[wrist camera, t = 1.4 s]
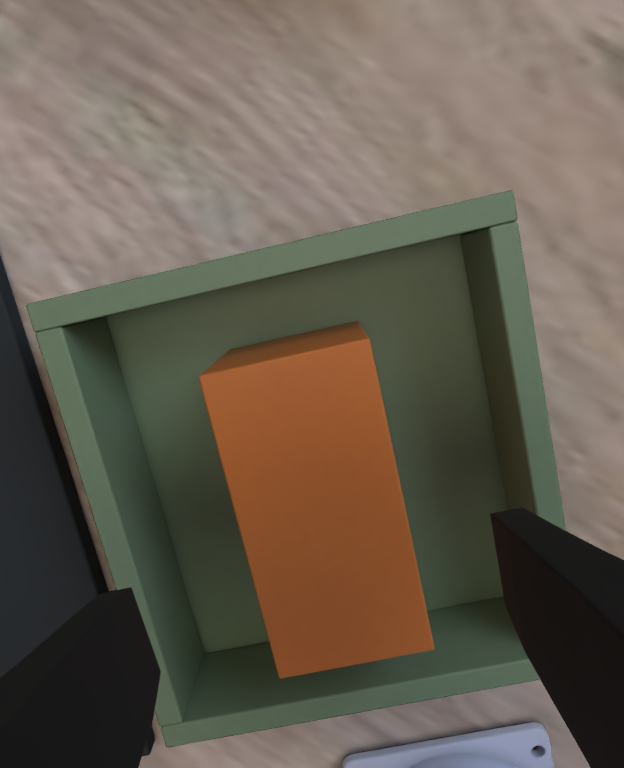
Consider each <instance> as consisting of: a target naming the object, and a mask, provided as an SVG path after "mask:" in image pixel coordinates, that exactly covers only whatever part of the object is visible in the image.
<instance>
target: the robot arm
mask: <svg viewBox="0 0 624 768" xmlns="http://www.w3.org/2000/svg"><path fill="white" fill-rule="evenodd" d="M490 517H491V523H492V529H493V535H494V541H495V547H496V553H497V559H498V565H499V571H500V577H501V583H502V590H503V596H504V602H505V606H506V608H507V611H508V613H509V615H510V618H511V620H512V623H513V625H514V628H515V630H516V632H517V635H518V637H519V639H520V642H521V644H522V646H523V649H524V651H525V653H526V655H527V656H528V658H529V660H530V662H531V664H532V665H533V667H534V669H535V671H536V672H537V674H538V676H539V678H540V680H541V681H542V683H543V685H544V687H545V688H546V690H547V692H548V694H549V695H550V697H551V699H552V701H553V702H554V704H555V706H556V708H557V709H558V711H559V713H560V714H561V716H562V718H563V720H564V721H565V723H566V725H567V727H568V728H569V730H570V732H571V734H572V735H573V737H574V739H575V741H576V742H577V744H578V746H579V748H580V749H581V751H582V753H583V755H584V756H585V758H586V760H587V762H588V763H589V765H590V767H591V768H624V560H622V559H620V558H618V557H616V556H614V555H611V554H609V553H607V552H605V551H603V550H601V549H599V548H597V547H595V546H593V545H591V544H589V543H587V542H585V541H584V540H582V539H580V538H578V537H576V536H574V535H572V534H570V533H568V532H567V531H565V530H563V529H561V528H559V527H558V526H556V525H554V524H552V523H550V522H548V521H547V520H545V519H543V518H541V517H539V516H538V515H536V514H534V513H532V512H530V511H528V510H526V509H524V508H522V507H520V508H515V509H510V510H505V511H501V512H496V513H491V514H490ZM160 675H161V670H160V668H159V665H158V662H157V659H156V656H155V653H154V650H153V648H152V645H151V642H150V639H149V636H148V633H147V630H146V628H145V625H144V622H143V619H142V616H141V613H140V610H139V608H138V605H137V602H136V599H135V596H134V593H133V590H132V588H131V587H129V588H124V589H120V590H115V591H110V592H105V593H102V594H100V595H99V596H97V597H96V598H94V599H93V600H92V601H90V602H89V603H88V604H87V605H85V606H84V607H83V608H82V609H80V610H79V611H78V612H77V613H76V614H74V615H73V616H72V617H71V618H70V619H69V620H67V621H66V622H65V623H64V624H63V625H62V626H61V627H59V628H58V629H57V630H56V631H55V632H54V633H52V634H51V635H50V636H49V637H48V638H47V639H46V640H44V641H43V642H42V643H41V644H40V645H39V646H37V647H36V648H35V649H34V650H33V651H32V652H31V653H29V654H28V655H27V656H26V657H25V658H24V659H22V660H21V661H20V662H19V663H18V664H17V665H15V666H14V667H13V668H12V669H10V670H9V671H8V672H7V673H6V674H4V675H3V676H2V677H1V678H0V768H138V767H139V763H140V760H141V757H142V754H143V751H144V747H145V744H146V741H147V738H148V734H149V731H150V728H151V724H152V720H153V715H154V710H155V705H156V699H157V693H158V687H159V681H160ZM535 746H540V747H539V748H537V749H533V747H535ZM342 768H554V764H553V758H552V752H551V747H550V741H549V736H548V734H547V732H546V730H545V728H544V726H542V725H541V724H539V723H537V722H530V723H525V724H519V725H513V726H508V727H502V728H497V729H491V730H485V731H480V732H474V733H468V734H463V735H457V736H452V737H446V738H440V739H435V740H429V741H423V742H418V743H412V744H407V745H401V746H395V747H390V748H384V749H378V750H373V751H367V752H362V753H356V754H351V755H348V756H347V757H346V758H345V759H344V760H343V762H342Z"/></svg>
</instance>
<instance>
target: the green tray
mask: <svg viewBox="0 0 624 768" xmlns="http://www.w3.org/2000/svg"><path fill="white" fill-rule="evenodd" d="M516 220H517V212H516V206H515V199H514V193H513V191H512V190H510V191H505V192H501V193H497V194H493V195H488V196H484V197H480V198H476V199H471V200H467V201H463V202H459V203H454V204H450V205H446V206H442V207H437V208H433V209H429V210H425V211H420V212H416V213H412V214H408V215H403V216H399V217H395V218H391V219H386V220H382V221H378V222H374V223H369V224H365V225H361V226H357V227H352V228H348V229H344V230H340V231H335V232H331V233H327V234H323V235H318V236H314V237H310V238H306V239H302V240H297V241H293V242H289V243H285V244H280V245H276V246H272V247H268V248H263V249H259V250H255V251H251V252H246V253H242V254H238V255H234V256H229V257H225V258H221V259H217V260H212V261H208V262H204V263H200V264H195V265H191V266H187V267H183V268H178V269H174V270H170V271H166V272H161V273H157V274H153V275H149V276H144V277H140V278H136V279H132V280H127V281H123V282H119V283H115V284H110V285H106V286H102V287H98V288H94V289H89V290H85V291H81V292H77V293H72V294H68V295H64V296H60V297H55V298H51V299H47V300H43V301H38V302H34V303H30V304H27V305H26V307H27V310H28V313H29V316H30V319H31V323H32V326H33V329H34V331H35V332H37V333H36V337H37V340H38V344H39V347H40V350H41V353H42V356H43V359H44V363H45V366H46V369H47V372H48V375H49V378H50V381H51V385H52V388H53V391H54V394H55V397H56V400H57V404H58V407H59V410H60V413H61V416H62V419H63V423H64V426H65V429H66V432H67V435H68V438H69V441H70V445H71V448H72V451H73V454H74V457H75V460H76V464H77V467H78V470H79V473H80V476H81V479H82V483H83V486H84V489H85V492H86V495H87V498H88V502H89V505H90V508H91V511H92V514H93V517H94V520H95V524H96V527H97V530H98V533H99V536H100V539H101V543H102V546H103V549H104V552H105V555H106V558H107V562H108V565H109V568H110V571H111V574H112V577H113V581H114V584H115V587H116V590H120V589H124V588H129V587H131V588H132V590H133V593H134V596H135V599H136V602H137V605H138V608H139V610H140V613H141V616H142V619H143V622H144V625H145V628H146V630H147V633H148V636H149V639H150V642H151V645H152V648H153V650H154V653H155V656H156V659H157V662H158V665H159V668H160V670H161V675H160V681H159V687H158V693H157V699H156V705H155V713H156V716H157V720H158V723H159V725H160V726H161V732H162V735H163V738H164V741H165V744H166V746H167V747H172V746H178V745H183V744H189V743H194V742H200V741H205V740H211V739H216V738H222V737H227V736H233V735H238V734H244V733H249V732H255V731H260V730H266V729H271V728H277V727H282V726H288V725H293V724H299V723H304V722H310V721H315V720H321V719H326V718H332V717H337V716H343V715H348V714H353V713H359V712H364V711H370V710H375V709H381V708H386V707H392V706H397V705H403V704H408V703H414V702H419V701H425V700H430V699H436V698H441V697H447V696H452V695H458V694H463V693H469V692H474V691H480V690H485V689H491V688H496V687H502V686H507V685H513V684H518V683H524V682H529V681H535V680H540V678H539V676H538V674H537V672H536V671H535V669H534V667H533V665H532V664H531V662H530V660H529V658H528V656H527V655H526V653H525V651H524V649H523V646H522V644H521V642H520V639H519V637H518V635H517V632H516V630H515V628H514V625H513V623H512V620H511V618H510V615H509V613H508V611H507V608H506V606H505V602H504V596H503V590H502V583H501V577H500V571H499V565H498V559H497V553H496V547H495V541H494V535H493V529H492V523H491V517H490V514H491V513H496V512H501V511H505V510H510V509H515V508H520V507H522V508H524V509H526V510H528V511H530V512H532V513H534V514H536V515H538V516H539V517H541V518H543V519H545V520H547V521H548V522H550V523H552V524H554V525H556V526H558V527H559V528H561V529H563V530H565V531H566V528H565V521H564V515H563V509H562V502H561V496H560V490H559V483H558V477H557V470H556V464H555V458H554V451H553V445H552V439H551V432H550V426H549V419H548V413H547V407H546V400H545V394H544V388H543V381H542V375H541V368H540V362H539V356H538V349H537V343H536V337H535V330H534V324H533V317H532V311H531V305H530V298H529V292H528V285H527V279H526V273H525V266H524V260H523V254H522V247H521V241H520V234H519V228H518V224H517V222H515V221H516ZM354 321H358V322H359V323H360V325H361V326H362V328H363V330H364V331H365V333H366V334H367V336H368V337H369V339H370V342H371V347H372V351H373V356H374V361H375V366H376V370H377V375H378V380H379V385H380V389H381V394H382V399H383V404H384V409H385V413H386V418H387V423H388V428H389V432H390V437H391V442H392V447H393V451H394V456H395V461H396V466H397V470H398V475H399V480H400V485H401V490H402V494H403V499H404V504H405V509H406V513H407V518H408V523H409V528H410V532H411V537H412V542H413V547H414V551H415V556H416V561H417V566H418V570H419V575H420V580H421V585H422V590H423V594H424V599H425V604H426V609H427V613H428V618H429V623H430V628H431V632H432V637H433V642H434V650H431V651H426V652H420V653H415V654H410V655H404V656H399V657H394V658H388V659H383V660H378V661H372V662H367V663H362V664H356V665H351V666H346V667H340V668H335V669H330V670H324V671H319V672H314V673H308V674H303V675H298V676H292V677H287V678H282V679H281V678H279V676H278V672H277V668H276V665H275V661H274V657H273V654H272V650H271V646H270V642H269V639H268V635H267V631H266V627H265V624H264V620H263V616H262V613H261V609H260V605H259V601H258V598H257V594H256V590H255V586H254V583H253V579H252V575H251V571H250V568H249V564H248V560H247V557H246V553H245V549H244V545H243V542H242V538H241V534H240V530H239V527H238V523H237V519H236V516H235V512H234V508H233V504H232V501H231V497H230V493H229V489H228V486H227V482H226V478H225V475H224V471H223V467H222V463H221V460H220V456H219V452H218V448H217V445H216V441H215V437H214V434H213V430H212V426H211V422H210V419H209V415H208V411H207V407H206V404H205V400H204V396H203V392H202V389H201V385H200V381H199V376H200V375H201V374H202V373H203V372H204V371H206V370H207V369H208V368H209V367H210V366H211V365H213V364H214V363H215V362H216V361H217V360H218V359H220V358H221V357H222V356H223V355H224V354H225V353H227V352H228V351H229V350H230V349H234V348H239V347H243V346H248V345H252V344H257V343H261V342H265V341H270V340H274V339H279V338H283V337H288V336H292V335H296V334H301V333H305V332H310V331H314V330H319V329H323V328H328V327H332V326H336V325H341V324H345V323H350V322H354Z"/></svg>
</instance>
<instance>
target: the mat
mask: <svg viewBox="0 0 624 768" xmlns="http://www.w3.org/2000/svg"><path fill="white" fill-rule="evenodd" d="M105 592H108V591H107V588H106V585H105V582H104V579H103V575H102V572H101V569H100V566H99V563H98V560H97V557H96V554H95V550H94V547H93V544H92V541H91V538H90V535H89V532H88V528H87V525H86V522H85V519H84V516H83V513H82V510H81V507H80V503H79V500H78V497H77V494H76V491H75V488H74V485H73V482H72V478H71V475H70V472H69V469H68V466H67V463H66V460H65V457H64V453H63V450H62V447H61V444H60V441H59V438H58V435H57V432H56V428H55V425H54V422H53V419H52V416H51V413H50V410H49V407H48V403H47V400H46V397H45V394H44V391H43V388H42V385H41V382H40V378H39V375H38V372H37V369H36V366H35V363H34V360H33V356H32V353H31V350H30V347H29V344H28V341H27V338H26V335H25V331H24V328H23V325H22V322H21V319H20V316H19V313H18V310H17V306H16V303H15V300H14V297H13V294H12V291H11V288H10V285H9V281H8V278H7V275H6V272H5V269H4V266H3V263H2V260H1V256H0V678H1V677H2V676H3V675H4V674H6V673H7V672H8V671H9V670H10V669H12V668H13V667H14V666H15V665H17V664H18V663H19V662H20V661H21V660H22V659H24V658H25V657H26V656H27V655H28V654H29V653H31V652H32V651H33V650H34V649H35V648H36V647H37V646H39V645H40V644H41V643H42V642H43V641H44V640H46V639H47V638H48V637H49V636H50V635H51V634H52V633H54V632H55V631H56V630H57V629H58V628H59V627H61V626H62V625H63V624H64V623H65V622H66V621H67V620H69V619H70V618H71V617H72V616H73V615H74V614H76V613H77V612H78V611H79V610H80V609H82V608H83V607H84V606H85V605H87V604H88V603H89V602H90V601H92V600H93V599H94V598H96V597H97V596H99V595H100V594H102V593H105ZM154 741H155V738H154V735H153V732H152V729H151V728H150V731H149V734H148V738H147V741H146V744H145V747H144V751H143V754H142V756H146V755H149V754H150V752H151V749H152V747H153V744H154Z"/></svg>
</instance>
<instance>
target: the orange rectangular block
mask: <svg viewBox="0 0 624 768" xmlns="http://www.w3.org/2000/svg"><path fill="white" fill-rule="evenodd" d="M199 381H200V385H201V389H202V392H203V396H204V400H205V404H206V407H207V411H208V415H209V419H210V422H211V426H212V430H213V434H214V437H215V441H216V445H217V448H218V452H219V456H220V460H221V463H222V467H223V471H224V475H225V478H226V482H227V486H228V489H229V493H230V497H231V501H232V504H233V508H234V512H235V516H236V519H237V523H238V527H239V530H240V534H241V538H242V542H243V545H244V549H245V553H246V557H247V560H248V564H249V568H250V571H251V575H252V579H253V583H254V586H255V590H256V594H257V598H258V601H259V605H260V609H261V613H262V616H263V620H264V624H265V627H266V631H267V635H268V639H269V642H270V646H271V650H272V654H273V657H274V661H275V665H276V668H277V672H278V676H279V678H281V679H282V678H287V677H292V676H298V675H303V674H308V673H314V672H319V671H324V670H330V669H335V668H340V667H346V666H351V665H356V664H362V663H367V662H372V661H378V660H383V659H388V658H394V657H399V656H404V655H410V654H415V653H420V652H426V651H431V650H434V642H433V637H432V632H431V628H430V623H429V618H428V613H427V609H426V604H425V599H424V594H423V590H422V585H421V580H420V575H419V570H418V566H417V561H416V556H415V551H414V547H413V542H412V537H411V532H410V528H409V523H408V518H407V513H406V509H405V504H404V499H403V494H402V490H401V485H400V480H399V475H398V470H397V466H396V461H395V456H394V451H393V447H392V442H391V437H390V432H389V428H388V423H387V418H386V413H385V409H384V404H383V399H382V394H381V389H380V385H379V380H378V375H377V370H376V366H375V361H374V356H373V351H372V347H371V342H370V339H369V337H368V336H367V334H366V333H365V331H364V330H363V328H362V326H361V325H360V323H359V322H358V321H354V322H350V323H345V324H341V325H336V326H332V327H328V328H323V329H319V330H314V331H310V332H305V333H301V334H296V335H292V336H288V337H283V338H279V339H274V340H270V341H265V342H261V343H257V344H252V345H248V346H243V347H239V348H234V349H230V350H229V351H228V352H227V353H225V354H224V355H223V356H222V357H221V358H220V359H218V360H217V361H216V362H215V363H214V364H213V365H211V366H210V367H209V368H208V369H207V370H206V371H204V372H203V373H202V374H201V375H200V376H199Z"/></svg>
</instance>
